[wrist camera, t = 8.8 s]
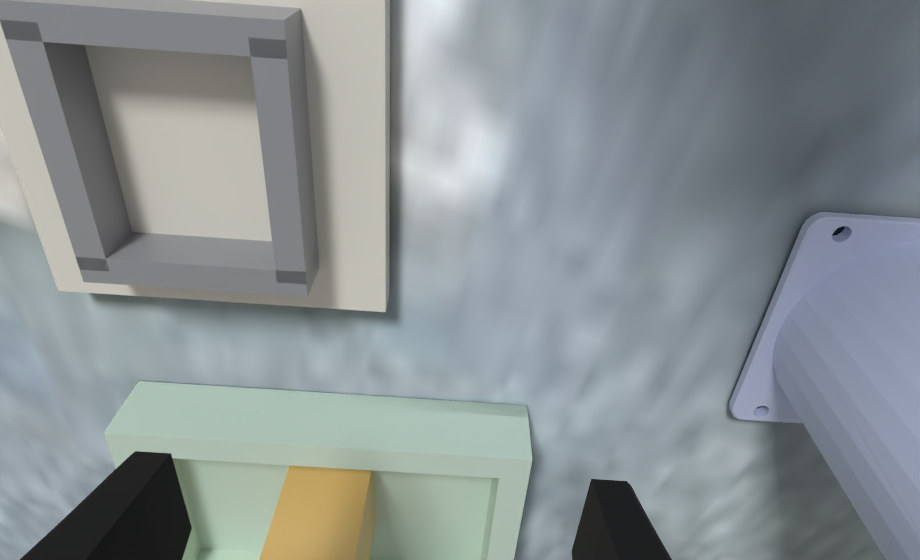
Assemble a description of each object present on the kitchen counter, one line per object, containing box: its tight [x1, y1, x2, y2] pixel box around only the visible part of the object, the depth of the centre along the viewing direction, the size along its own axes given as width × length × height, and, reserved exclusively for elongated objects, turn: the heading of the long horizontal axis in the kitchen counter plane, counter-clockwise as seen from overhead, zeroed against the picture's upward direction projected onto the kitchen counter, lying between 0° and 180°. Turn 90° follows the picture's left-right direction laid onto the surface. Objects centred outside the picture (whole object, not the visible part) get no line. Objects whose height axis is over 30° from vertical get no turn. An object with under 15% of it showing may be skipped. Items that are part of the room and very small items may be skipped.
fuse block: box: [0, 0, 390, 312], centre depth 16 cm, size 10×10×2 cm
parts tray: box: [103, 381, 532, 560], centre depth 24 cm, size 14×10×2 cm
